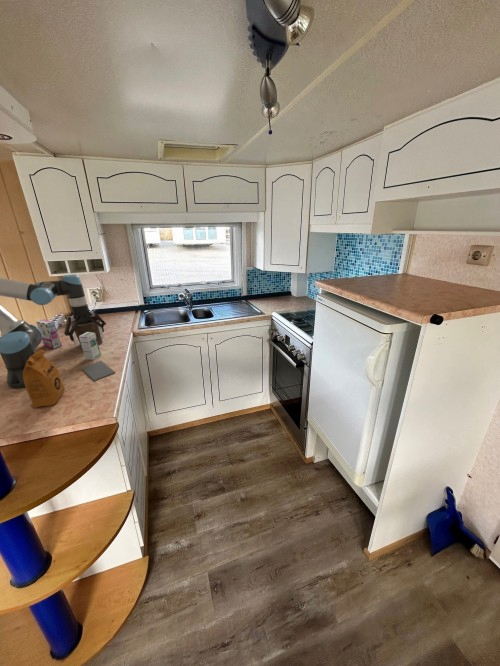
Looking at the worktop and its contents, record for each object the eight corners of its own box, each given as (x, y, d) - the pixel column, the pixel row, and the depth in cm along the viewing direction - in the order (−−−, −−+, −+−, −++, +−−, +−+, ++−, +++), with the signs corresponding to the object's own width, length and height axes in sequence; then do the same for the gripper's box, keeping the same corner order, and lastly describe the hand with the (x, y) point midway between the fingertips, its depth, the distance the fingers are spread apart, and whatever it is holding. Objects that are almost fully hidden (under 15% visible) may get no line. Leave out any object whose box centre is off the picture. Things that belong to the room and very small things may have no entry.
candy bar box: (62, 346, 167) (54, 321, 160) (53, 349, 163) (45, 324, 156) (52, 343, 171) (44, 318, 165) (43, 346, 167) (35, 321, 161)
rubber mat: (94, 381, 129) (94, 380, 129) (81, 368, 140) (81, 367, 140) (115, 372, 136) (115, 371, 135) (101, 361, 147) (101, 360, 147)
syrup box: (94, 360, 149) (87, 336, 143) (85, 359, 150) (78, 335, 144) (101, 355, 154) (95, 332, 148) (92, 354, 155) (86, 331, 149)
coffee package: (70, 390, 122) (55, 346, 114) (55, 407, 111) (38, 360, 103) (46, 392, 121) (30, 348, 113) (29, 409, 110) (10, 362, 101)
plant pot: (90, 351, 159) (83, 326, 153) (70, 348, 164) (63, 323, 158) (111, 340, 173) (106, 317, 167) (92, 337, 178) (86, 314, 172)
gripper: (53, 312, 129) (66, 351, 138) (106, 300, 146) (115, 336, 154) (49, 309, 134) (62, 347, 142) (101, 298, 151) (110, 332, 159)
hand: (89, 341), depth 148 cm, fingers open, 13 cm apart
